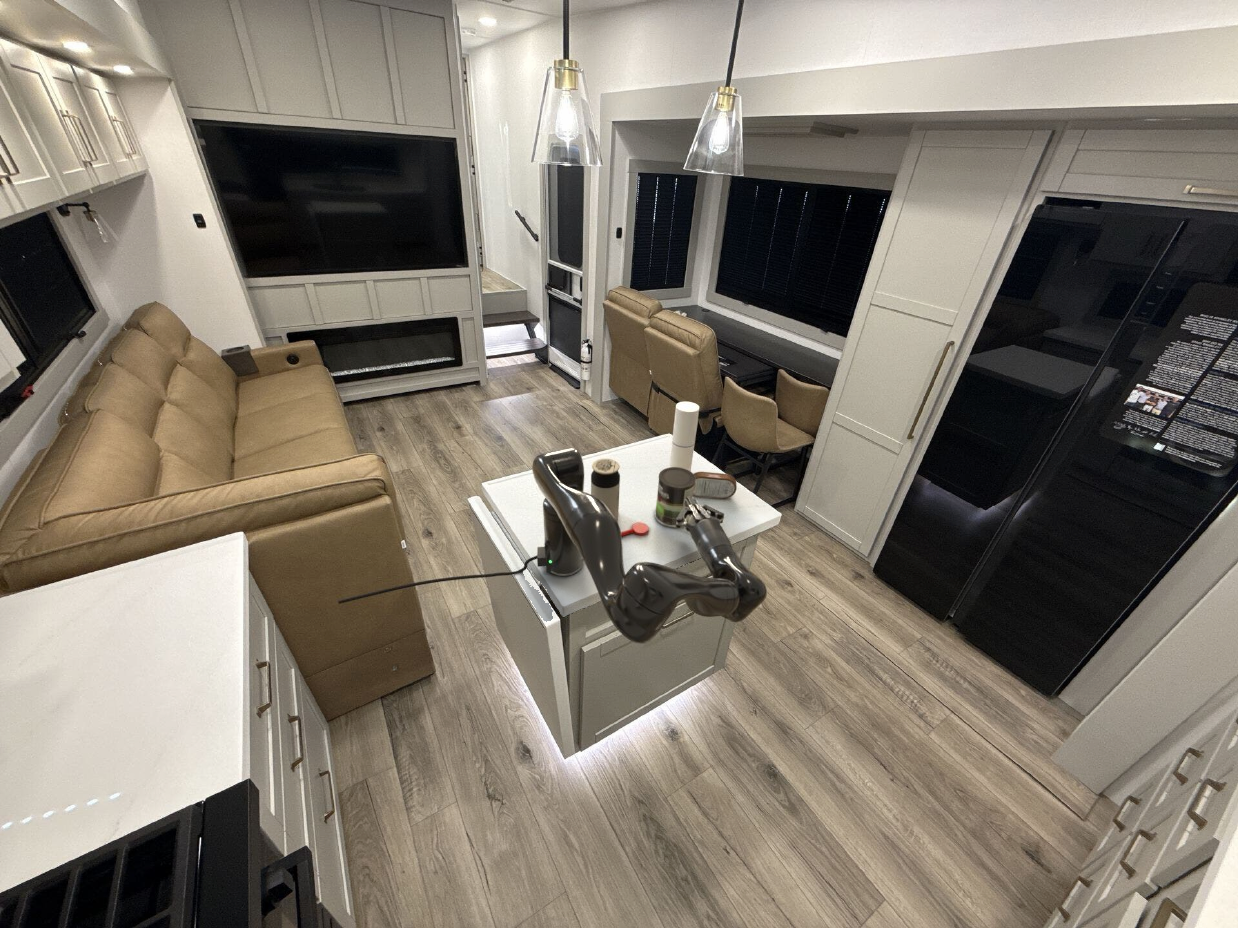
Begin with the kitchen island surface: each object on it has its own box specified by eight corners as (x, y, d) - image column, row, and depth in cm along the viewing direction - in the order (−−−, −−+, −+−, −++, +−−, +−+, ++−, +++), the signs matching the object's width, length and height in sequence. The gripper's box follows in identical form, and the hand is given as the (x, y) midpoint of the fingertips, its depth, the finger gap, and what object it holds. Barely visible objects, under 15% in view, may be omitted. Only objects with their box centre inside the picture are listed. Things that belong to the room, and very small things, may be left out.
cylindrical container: (666, 477, 159) (673, 409, 146) (671, 466, 165) (678, 400, 151) (688, 482, 157) (697, 413, 144) (691, 470, 163) (701, 403, 150)
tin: (733, 495, 152) (738, 473, 147) (734, 501, 149) (739, 479, 145) (686, 491, 153) (689, 469, 148) (686, 497, 150) (689, 474, 146)
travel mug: (587, 523, 138) (587, 470, 128) (595, 506, 144) (595, 455, 135) (614, 528, 136) (616, 475, 127) (621, 511, 143) (623, 460, 133)
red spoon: (598, 548, 129) (598, 545, 128) (591, 538, 133) (591, 535, 132) (651, 532, 135) (651, 529, 135) (643, 523, 139) (643, 520, 138)
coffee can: (664, 530, 136) (668, 490, 129) (649, 509, 144) (652, 470, 137) (696, 523, 140) (702, 483, 132) (680, 503, 148) (685, 464, 140)
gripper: (683, 558, 113) (663, 513, 127) (736, 551, 115) (710, 508, 129) (687, 533, 109) (665, 489, 123) (741, 527, 111) (714, 485, 125)
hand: (688, 499), depth 126 cm, fingers closed
